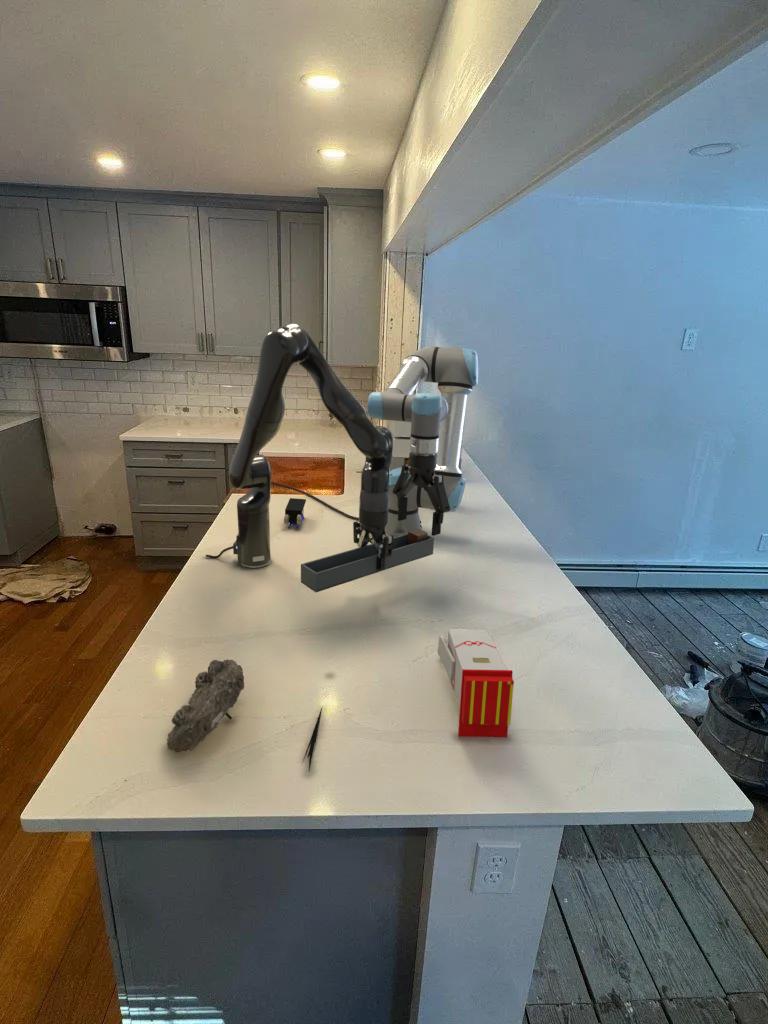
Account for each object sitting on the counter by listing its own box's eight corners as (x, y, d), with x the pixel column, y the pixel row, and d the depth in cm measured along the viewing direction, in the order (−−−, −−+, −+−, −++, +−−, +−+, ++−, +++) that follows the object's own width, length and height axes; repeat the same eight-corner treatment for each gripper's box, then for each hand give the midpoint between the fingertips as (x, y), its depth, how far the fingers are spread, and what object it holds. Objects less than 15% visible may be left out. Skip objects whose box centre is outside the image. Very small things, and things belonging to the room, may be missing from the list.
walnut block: (406, 551, 161) (407, 531, 159) (416, 547, 163) (418, 528, 161) (416, 555, 158) (417, 535, 156) (426, 552, 160) (428, 532, 158)
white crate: (382, 463, 289) (386, 382, 275) (445, 464, 293) (451, 384, 279) (390, 482, 257) (394, 392, 243) (460, 483, 261) (468, 394, 247)
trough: (300, 582, 140) (300, 564, 139) (416, 546, 165) (418, 530, 164) (315, 592, 136) (316, 573, 134) (433, 554, 161) (434, 537, 159)
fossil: (192, 660, 117) (244, 628, 112) (224, 691, 120) (276, 661, 115) (142, 746, 98) (202, 712, 93) (182, 779, 101) (242, 748, 96)
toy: (488, 613, 130) (523, 677, 101) (484, 667, 133) (517, 744, 104) (435, 612, 130) (455, 676, 101) (432, 666, 133) (451, 743, 103)
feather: (331, 679, 122) (336, 673, 122) (307, 777, 96) (313, 769, 95) (324, 675, 122) (329, 669, 121) (298, 772, 95) (304, 764, 95)
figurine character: (302, 534, 199) (307, 515, 212) (302, 515, 195) (306, 496, 209) (283, 533, 199) (289, 514, 212) (282, 514, 195) (288, 496, 209)
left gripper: (345, 500, 147) (343, 558, 153) (381, 516, 137) (378, 578, 143) (367, 495, 152) (365, 552, 158) (403, 510, 142) (400, 571, 148)
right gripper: (382, 444, 157) (379, 516, 165) (447, 465, 140) (441, 544, 147) (402, 441, 162) (398, 511, 169) (468, 461, 145) (460, 537, 152)
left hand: (371, 564), depth 150 cm, fingers closed on trough, 6 cm apart
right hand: (418, 526), depth 158 cm, fingers open, 13 cm apart
